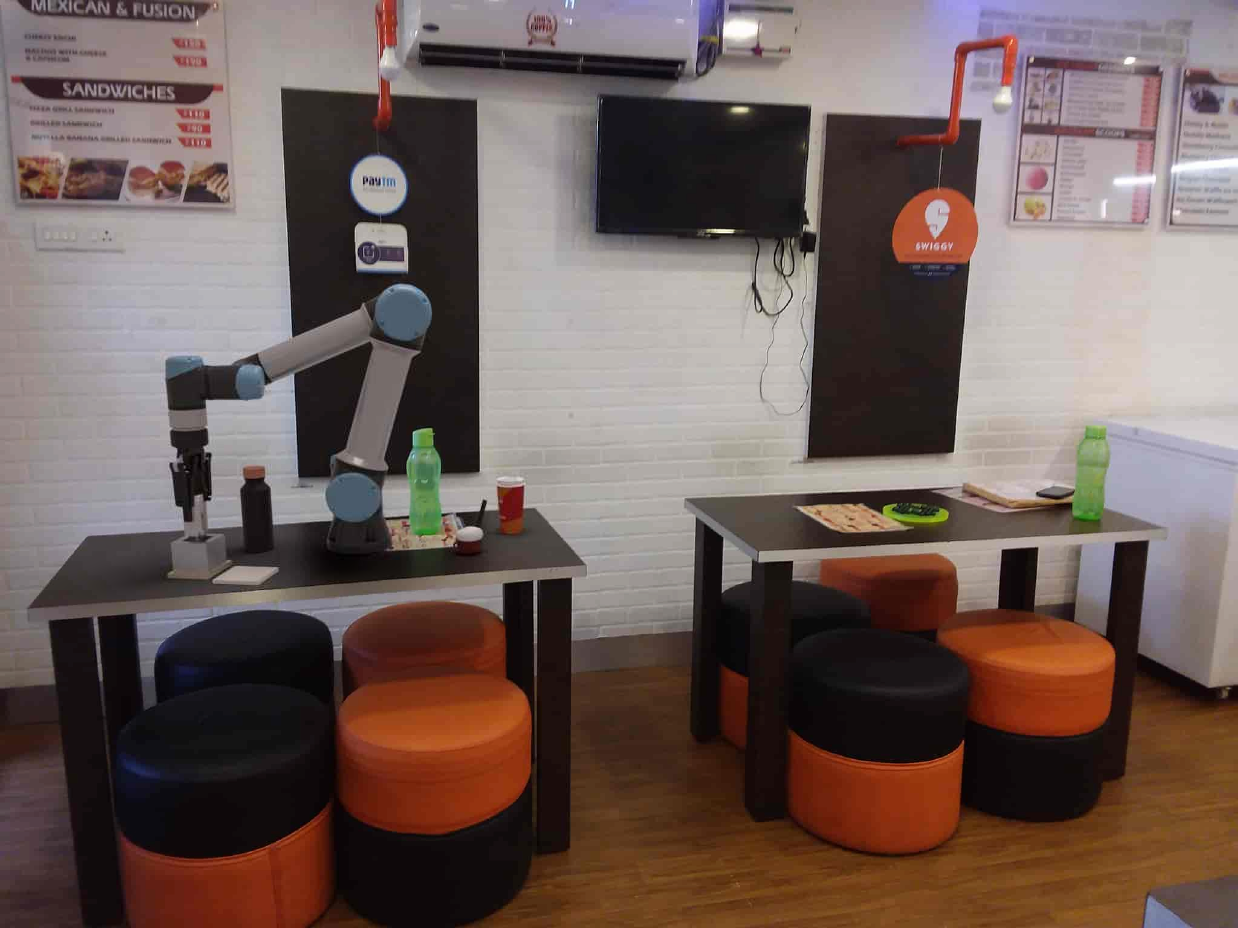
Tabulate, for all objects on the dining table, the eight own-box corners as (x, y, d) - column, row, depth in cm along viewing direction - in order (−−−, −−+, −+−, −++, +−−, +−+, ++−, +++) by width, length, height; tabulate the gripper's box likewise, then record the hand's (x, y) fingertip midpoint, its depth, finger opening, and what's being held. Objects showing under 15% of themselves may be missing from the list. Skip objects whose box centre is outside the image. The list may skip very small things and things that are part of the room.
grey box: (241, 558, 219) (239, 527, 218) (207, 579, 204) (204, 546, 202) (204, 557, 220) (201, 526, 218) (167, 578, 205) (164, 544, 203)
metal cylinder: (195, 549, 211) (190, 492, 208) (210, 549, 210) (206, 492, 208) (186, 553, 207) (181, 496, 205) (202, 554, 207) (197, 496, 204)
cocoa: (455, 559, 221) (451, 510, 218) (449, 551, 227) (446, 503, 224) (494, 553, 225) (491, 505, 222) (488, 545, 230) (485, 498, 227)
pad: (278, 570, 210) (278, 567, 210) (257, 585, 200) (257, 581, 200) (235, 569, 211) (235, 565, 211) (212, 583, 201) (212, 579, 201)
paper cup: (500, 527, 248) (499, 475, 245) (529, 528, 247) (528, 476, 244) (492, 535, 240) (491, 481, 238) (522, 536, 239) (521, 482, 237)
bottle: (274, 551, 225) (269, 469, 221) (244, 554, 223) (237, 471, 219) (274, 543, 231) (269, 464, 227) (244, 546, 229) (238, 465, 225)
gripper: (192, 421, 212) (200, 522, 216) (150, 433, 195) (159, 542, 200) (224, 422, 211) (231, 523, 216) (184, 434, 195) (193, 543, 199)
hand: (196, 532), depth 208 cm, fingers closed on metal cylinder, 4 cm apart
